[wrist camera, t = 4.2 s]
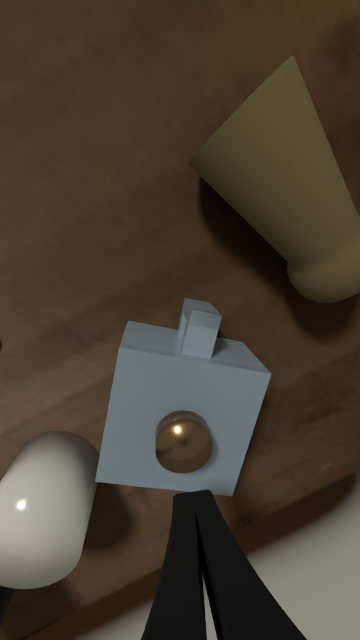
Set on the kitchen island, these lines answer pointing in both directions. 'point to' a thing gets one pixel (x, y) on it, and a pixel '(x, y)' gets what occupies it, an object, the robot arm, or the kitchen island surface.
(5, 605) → the travel mug
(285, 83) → the cork
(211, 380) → the blue box with knob
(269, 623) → the robot arm
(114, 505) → the kitchen island surface
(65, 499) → the white pillar candle
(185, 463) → the plunger
